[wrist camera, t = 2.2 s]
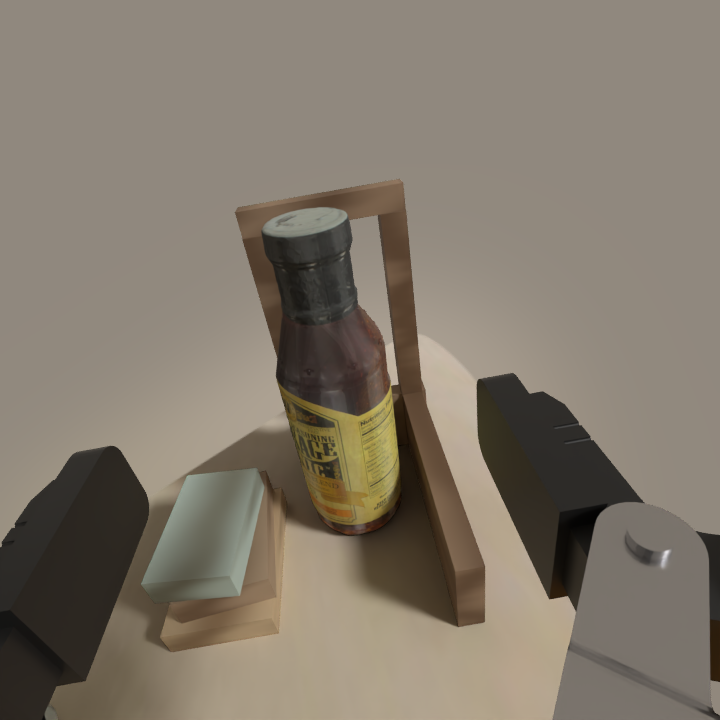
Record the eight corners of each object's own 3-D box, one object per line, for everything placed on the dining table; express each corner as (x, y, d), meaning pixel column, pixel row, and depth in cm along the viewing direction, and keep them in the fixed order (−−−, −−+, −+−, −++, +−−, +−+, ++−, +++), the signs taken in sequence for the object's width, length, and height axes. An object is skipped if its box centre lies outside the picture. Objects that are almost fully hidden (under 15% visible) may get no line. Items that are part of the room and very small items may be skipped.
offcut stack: (172, 653, 24) (131, 600, 22) (206, 518, 32) (178, 465, 29) (283, 634, 24) (256, 578, 22) (290, 503, 32) (271, 449, 29)
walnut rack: (307, 654, 23) (164, 330, 13) (308, 449, 36) (238, 206, 26) (490, 621, 23) (497, 271, 13) (425, 428, 36) (403, 177, 26)
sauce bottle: (302, 495, 32) (213, 223, 22) (374, 456, 34) (326, 192, 24) (344, 564, 27) (256, 252, 17) (425, 512, 29) (394, 209, 19)
